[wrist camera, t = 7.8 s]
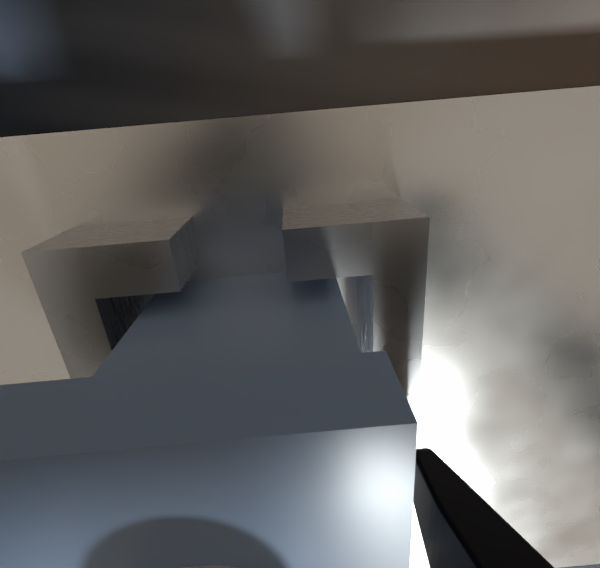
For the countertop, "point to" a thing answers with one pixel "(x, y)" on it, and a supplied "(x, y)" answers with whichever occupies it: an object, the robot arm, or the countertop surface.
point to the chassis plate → (352, 266)
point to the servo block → (215, 441)
